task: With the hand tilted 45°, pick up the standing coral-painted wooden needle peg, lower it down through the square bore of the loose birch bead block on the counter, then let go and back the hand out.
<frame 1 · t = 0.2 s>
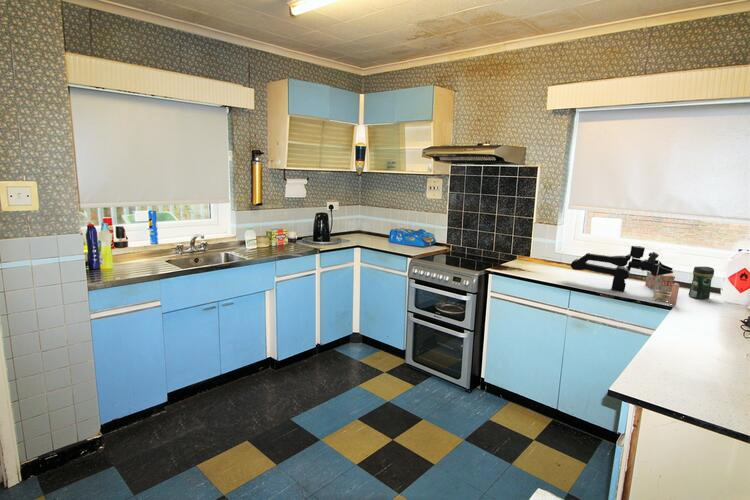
hand: (672, 270, 242), 17 cm above the worktop, tool horizontal, fingers open, 9 cm apart
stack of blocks: (657, 290, 262), on the worktop
needle peg: (672, 304, 234), on the worktop
coffee jar: (698, 297, 250), on the worktop
bead block: (663, 299, 243), on the worktop
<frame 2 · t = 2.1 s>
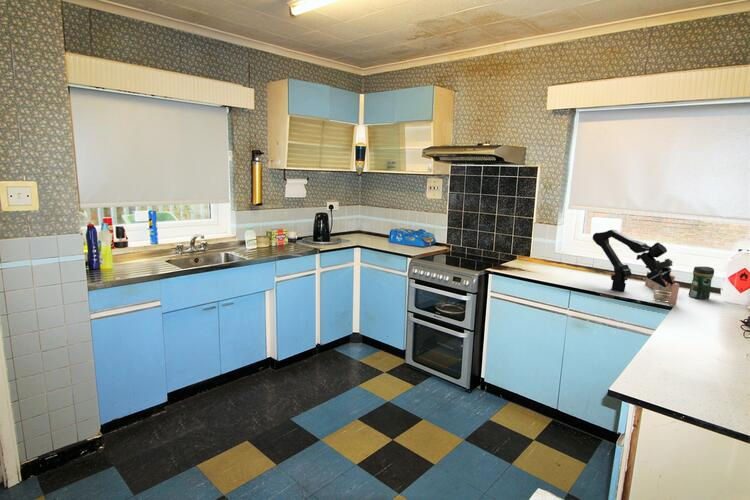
hand: (669, 285, 234), 10 cm above the worktop, tool tilted 45°, fingers open, 9 cm apart
nothing on the worktop moved.
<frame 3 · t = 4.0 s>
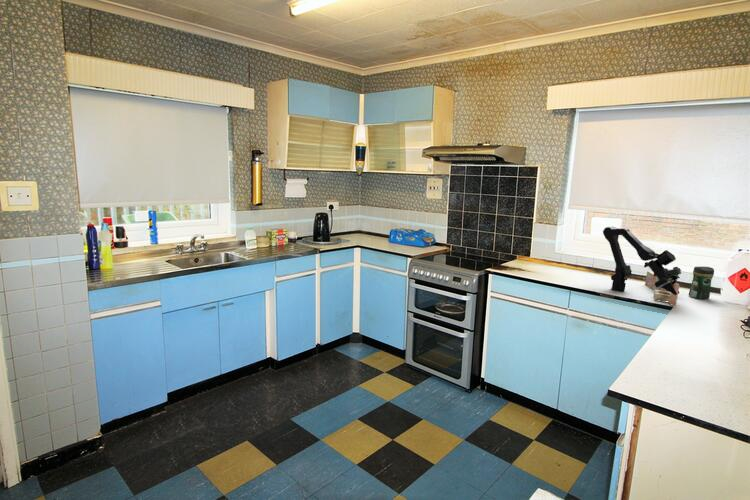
hand: (677, 294, 232), 7 cm above the worktop, tool tilted 45°, fingers closed on needle peg, 3 cm apart
needle peg: (672, 304, 234), on the worktop, touching gripper
everything else where it was.
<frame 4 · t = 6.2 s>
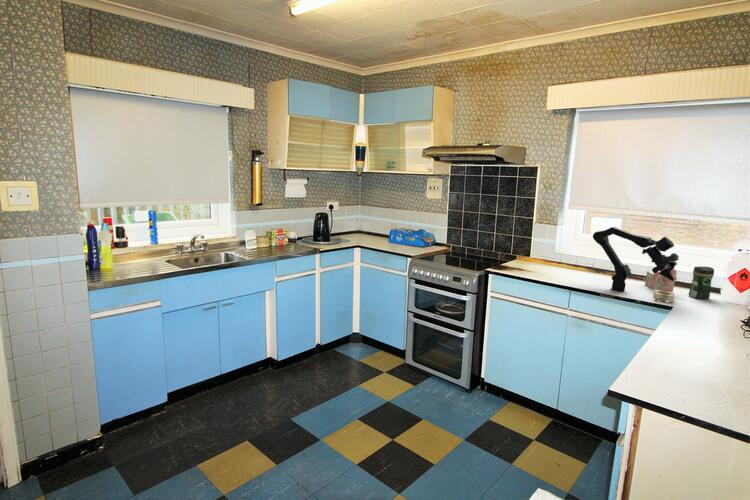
hand: (674, 280, 234), 13 cm above the worktop, tool tilted 45°, fingers closed on needle peg, 3 cm apart
needle peg: (669, 290, 237), point 7 cm above the worktop, touching gripper
everything else where it was.
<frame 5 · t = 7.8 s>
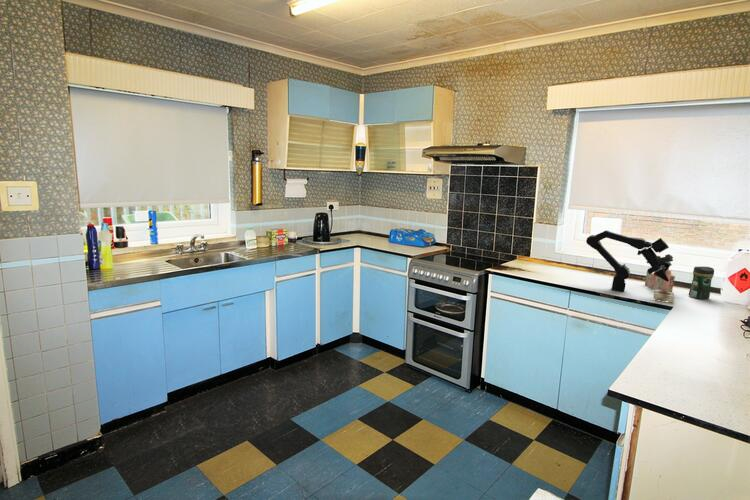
hand: (669, 280, 239), 12 cm above the worktop, tool tilted 45°, fingers closed on needle peg, 3 cm apart
needle peg: (664, 291, 242), point 5 cm above the worktop, touching gripper
everything else where it was.
when the fingers open (8 cm above the worktop, at t = 8.8 s): needle peg drops 1 cm, resting in bead block.
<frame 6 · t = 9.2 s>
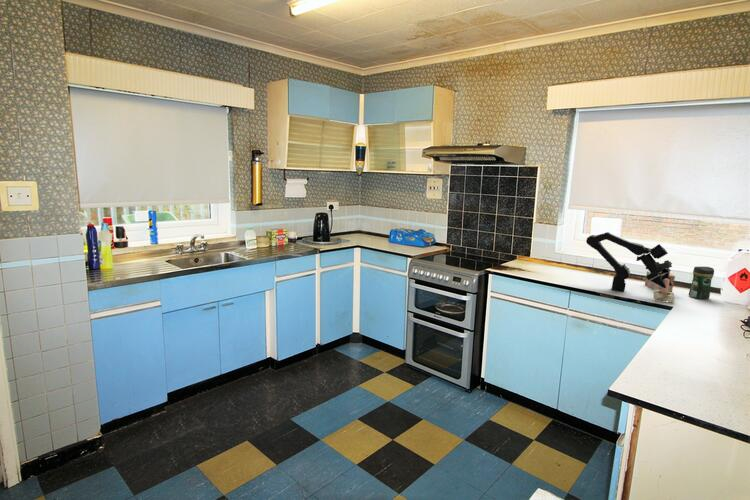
hand: (668, 286, 240), 8 cm above the worktop, tool tilted 45°, fingers open, 8 cm apart
needle peg: (662, 299, 243), resting in bead block
everything else where it was.
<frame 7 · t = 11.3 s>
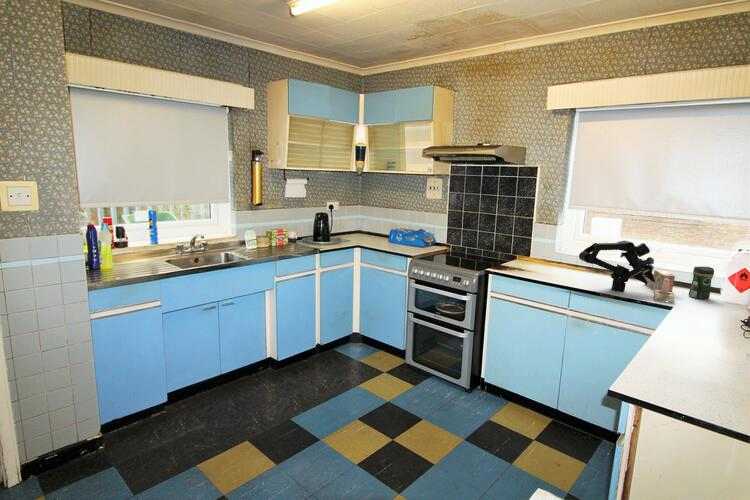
hand: (650, 282, 247), 8 cm above the worktop, tool tilted 45°, fingers open, 9 cm apart
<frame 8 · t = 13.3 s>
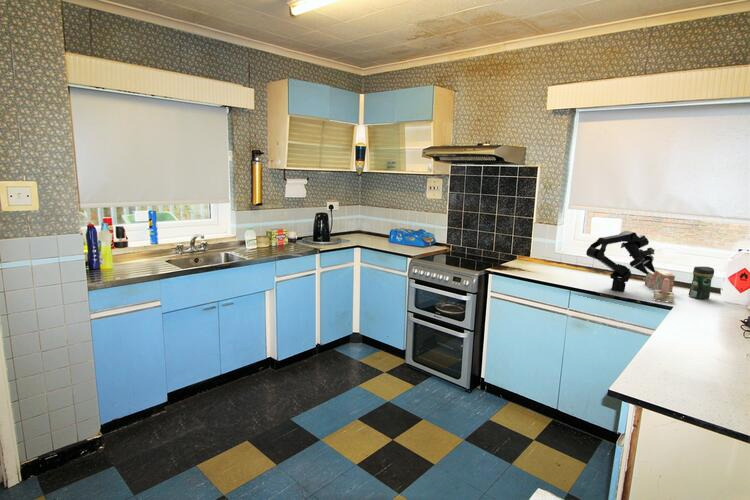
hand: (651, 273, 247), 14 cm above the worktop, tool tilted 45°, fingers open, 9 cm apart
at the end: needle peg 0.0 cm from the bead block (horizontally); needle peg resting in bead block; needle peg tilted 0° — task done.
